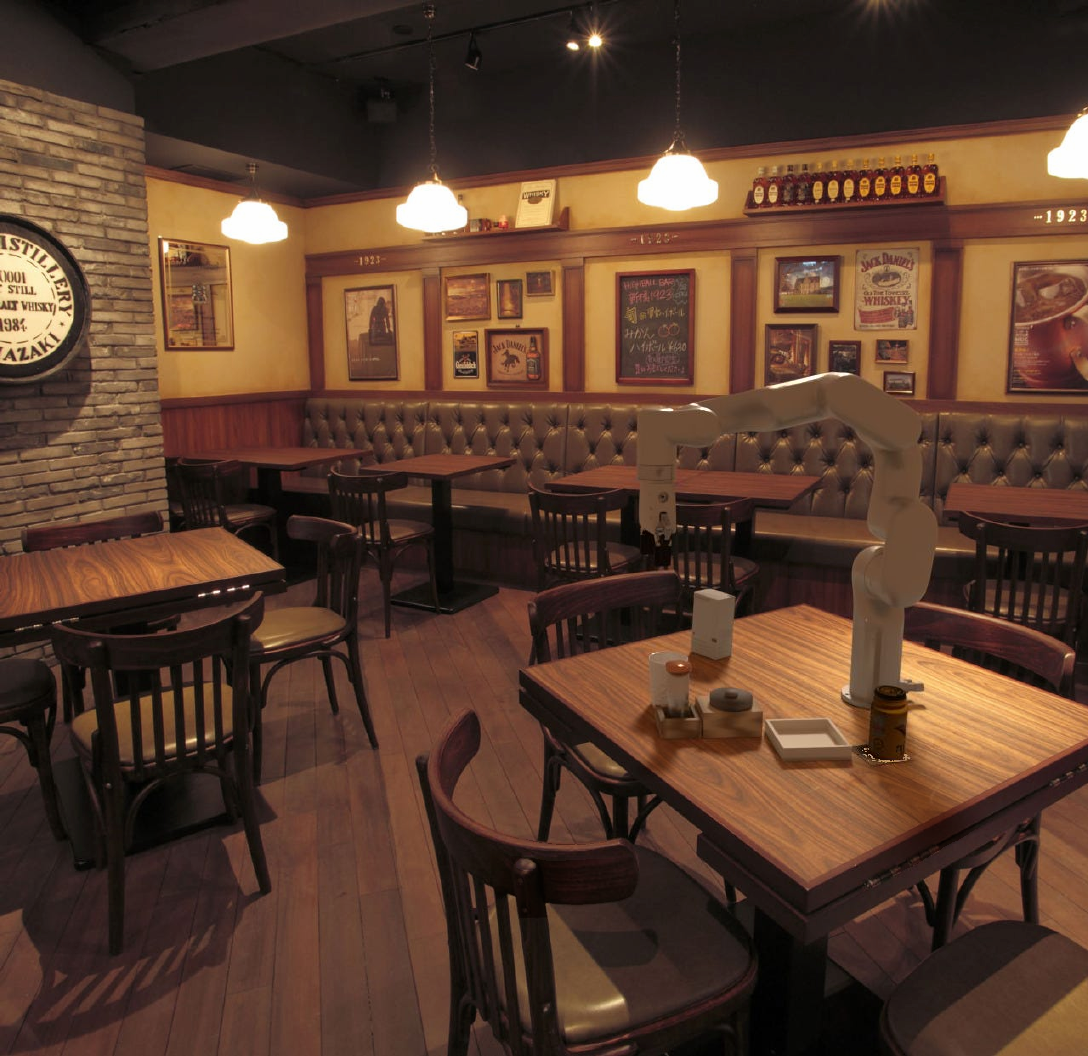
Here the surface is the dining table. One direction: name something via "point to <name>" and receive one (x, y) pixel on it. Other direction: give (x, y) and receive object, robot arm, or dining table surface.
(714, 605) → the skincare box
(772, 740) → the tray
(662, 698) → the white cup
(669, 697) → the glass shaker
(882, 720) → the condiment
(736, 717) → the wooden condiment holder
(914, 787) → the dining table surface
